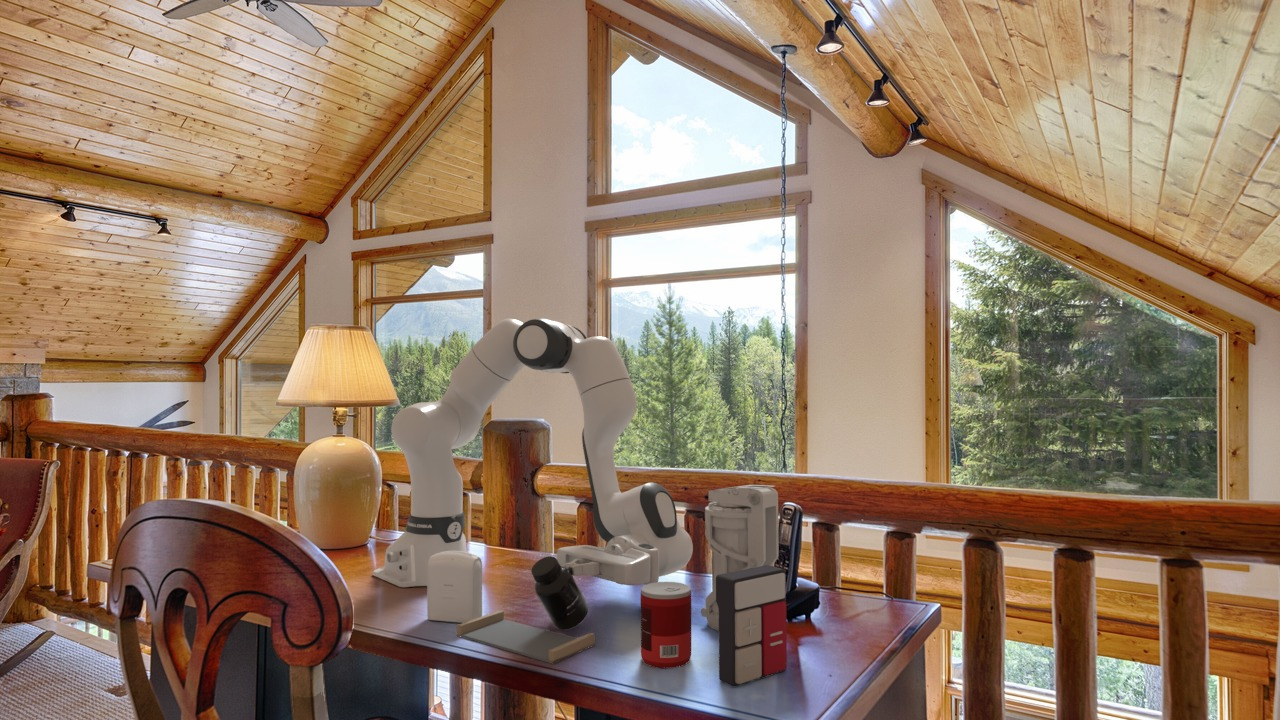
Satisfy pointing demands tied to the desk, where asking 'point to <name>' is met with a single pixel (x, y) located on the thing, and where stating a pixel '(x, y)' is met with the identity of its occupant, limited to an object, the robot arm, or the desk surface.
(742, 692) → the desk surface
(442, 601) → the photo printer
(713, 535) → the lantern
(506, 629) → the felt tray
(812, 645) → the desk surface
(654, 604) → the canned food
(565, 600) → the supplement bottle
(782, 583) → the calculator
